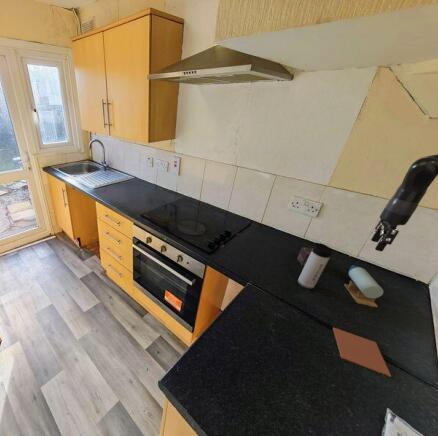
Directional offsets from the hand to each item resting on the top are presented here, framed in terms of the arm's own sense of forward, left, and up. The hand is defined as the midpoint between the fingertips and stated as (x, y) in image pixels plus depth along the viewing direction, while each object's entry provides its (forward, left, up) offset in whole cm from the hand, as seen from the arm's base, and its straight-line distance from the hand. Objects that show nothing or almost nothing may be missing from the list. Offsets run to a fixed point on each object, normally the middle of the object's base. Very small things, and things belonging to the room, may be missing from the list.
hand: (376, 245), depth 93 cm
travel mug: (+20, +11, -21) cm, 31 cm away
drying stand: (-1, +8, -21) cm, 22 cm away
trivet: (+8, +39, -21) cm, 45 cm away
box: (+18, -7, -21) cm, 28 cm away
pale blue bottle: (0, +4, -18) cm, 18 cm away
